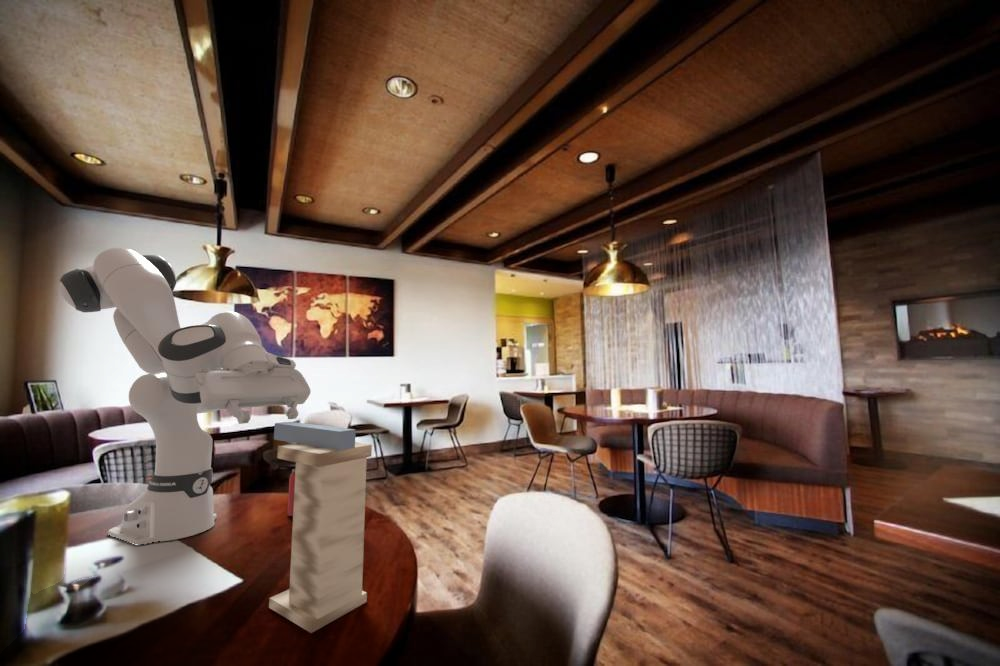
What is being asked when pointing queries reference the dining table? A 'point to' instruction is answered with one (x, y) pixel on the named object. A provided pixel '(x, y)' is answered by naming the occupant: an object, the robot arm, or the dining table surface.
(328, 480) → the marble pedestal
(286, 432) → the block
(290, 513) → the beer can
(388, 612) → the dining table surface
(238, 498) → the dining table surface
